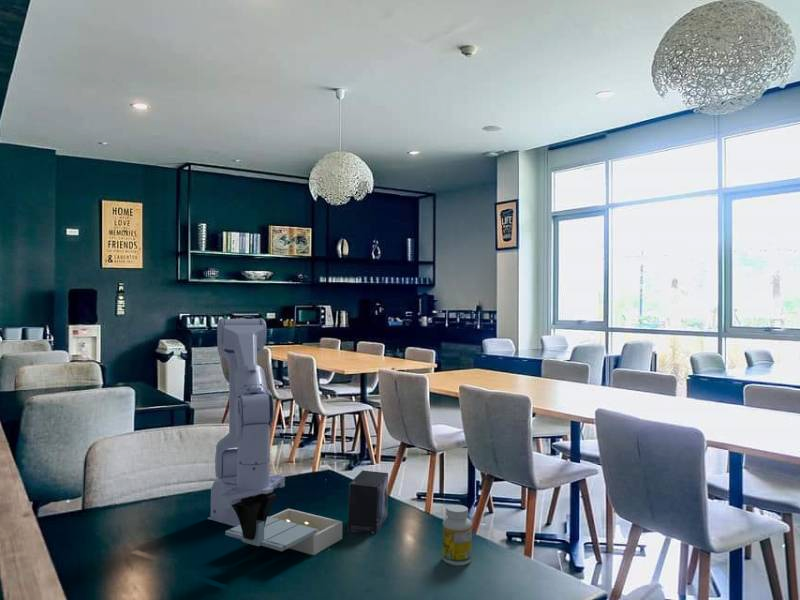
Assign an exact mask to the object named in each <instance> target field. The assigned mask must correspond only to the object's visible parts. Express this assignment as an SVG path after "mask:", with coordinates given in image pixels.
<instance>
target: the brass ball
mask: <svg viewBox="0 0 800 600" xmlns="http://www.w3.org/2000/svg"><path fill="white" fill-rule="evenodd" d="M299 524H300V525H303V526H307V527H311V525H310V523H309V522H307V521H300V522H299V523H298V525H299ZM311 528H312V527H311Z"/></svg>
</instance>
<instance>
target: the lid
mask: <svg viewBox="0 0 800 600" xmlns="http://www.w3.org/2000/svg"><path fill="white" fill-rule="evenodd" d="M224 533H225V536H227V537H231V538H235V539H238V540H241V542H243V543H246V544H249V545H252V546H256V547H260V546H262V547H266V548H268V549H272V550H275V551H278V552H284V551H285V550H287V549H290V548H289V547H291V546H293V545H295V544H297V543H299V542H301V541H303V540H305V539H306V538H308V537H310V536H312V535H314V534H316V533H317V529H315V528H311V527H307V526H303V525H300V524H299V525H298V524H296V523H292V522H288V521H284V520H280V519H276V518H272V517H270V516H269V515H268V516H267V519H266V523H265V527H264V521H261V520H257V521H256V534H255V539H253V540H249V539H245V538H244V537H243V532H242V528H241V525H239V526H238V525H235V526H233V527H232V528H229V529H227V530H225V532H224Z"/></svg>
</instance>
